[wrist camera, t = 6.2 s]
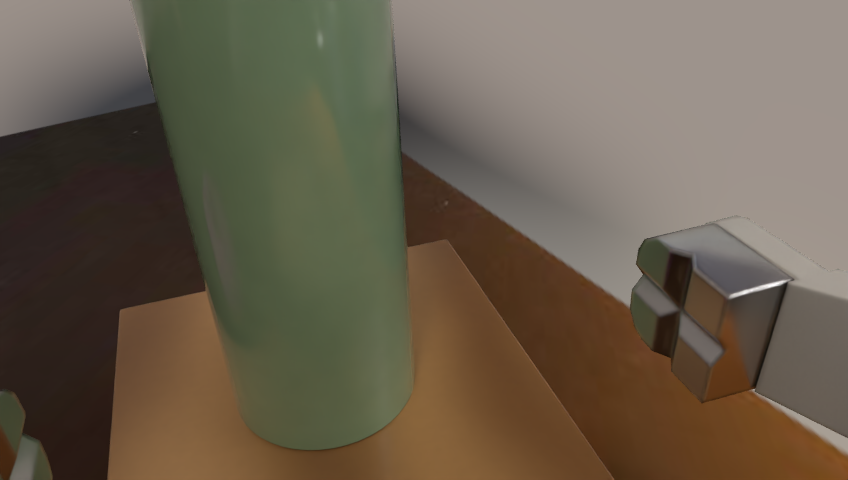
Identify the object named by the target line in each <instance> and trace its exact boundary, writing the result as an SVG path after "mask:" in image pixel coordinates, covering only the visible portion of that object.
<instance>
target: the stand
mask: <svg viewBox="0 0 848 480" xmlns="http://www.w3.org/2000/svg"><path fill="white" fill-rule="evenodd" d="M407 249H408V265H409V281H410V297H411V313H412V329H413V345H414V361H415V383H414V388H413V391H412V393H411V396H410V398H409V400H408V402H407V403H406V405H405V407H404V408H403V409H402V411H401V412H400V413H399V414H398V416H397V417H395V418H394V419H393V420H392V421H391V422H390V423H389V424H388V425H386V426H385V427H384V428H382V429H381V430H380V431H378V432H376V433H375V434H373V435H371V436H369V437H367V438H365V439H363V440H361V441H358V442H355V443H352V444H350V445H347V446H342V447H338V448H334V449H326V450H309V451H307V450H295V449H290V448H285V447H281V446H278V445H275V444H272V443H270V442H268V441H266V440H264V439H262V438H261V437H259V436H258V435H256V434H255V433H254V432H253V431H251V430H250V429H249V428H248V427H247V426H246V424H245V423H244V422H243V420H242V419H241V417H240V415H239V413H238V411H237V407H236V403H235V400H234V396H233V392H232V388H231V384H230V381H229V377H228V373H227V369H226V365H225V362H224V358H223V354H222V350H221V347H220V343H219V339H218V335H217V331H216V328H215V324H214V320H213V316H212V312H211V309H210V305H209V301H208V297H207V293H206V291H204V292H199V293H195V294H190V295H185V296H181V297H176V298H171V299H167V300H162V301H158V302H153V303H148V304H144V305H139V306H134V307H130V308H125V309H121V310H120V315H119V328H118V342H117V355H116V369H115V382H114V396H113V409H112V423H111V436H110V450H109V463H108V477H107V480H614V478H613V477H612V475H611V474H610V473H609V471H608V470H607V468H606V467H605V465H604V464H603V462H602V461H601V460H600V458H599V457H598V455H597V454H596V452H595V451H594V450H593V448H592V447H591V445H590V444H589V442H588V441H587V440H586V438H585V437H584V435H583V434H582V432H581V431H580V429H579V428H578V427H577V425H576V424H575V422H574V421H573V419H572V418H571V417H570V415H569V414H568V412H567V411H566V409H565V408H564V407H563V405H562V404H561V402H560V401H559V399H558V398H557V396H556V395H555V394H554V392H553V391H552V389H551V388H550V386H549V385H548V384H547V382H546V381H545V379H544V378H543V376H542V375H541V374H540V372H539V371H538V369H537V368H536V366H535V365H534V363H533V362H532V361H531V359H530V358H529V356H528V355H527V353H526V352H525V351H524V349H523V348H522V346H521V345H520V343H519V342H518V341H517V339H516V338H515V336H514V335H513V333H512V332H511V330H510V329H509V328H508V326H507V325H506V323H505V322H504V320H503V319H502V318H501V316H500V315H499V313H498V312H497V310H496V309H495V308H494V306H493V305H492V303H491V302H490V300H489V299H488V297H487V296H486V295H485V293H484V292H483V290H482V289H481V287H480V286H479V285H478V283H477V282H476V280H475V279H474V277H473V276H472V275H471V273H470V272H469V270H468V269H467V267H466V266H465V264H464V263H463V262H462V260H461V259H460V257H459V256H458V254H457V253H456V252H455V250H454V249H453V247H452V246H451V244H450V243H449V242H448V240H446V239H445V240H441V241H436V242H431V243H427V244H422V245H417V246H413V247H408V248H407Z"/></svg>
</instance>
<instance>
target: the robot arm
mask: <svg viewBox="0 0 848 480" xmlns="http://www.w3.org/2000/svg"><path fill="white" fill-rule="evenodd" d="M636 265H637V266H638V268H639V269H640V270H641V272H642V273H643V275H642V277H641V278H640V279H639V281H638V282H637V284H636V285H635V286H634V288H633V289H632V294H631V304H630V311H631V315H632V319H633V323H634V327H635V328H636V330H637V332H638V334H639V336H640V337H641V339H642V340H643V341H644V342H645V344H646V345H647V346H648V347H649V348H650V349H651V350H652V351H654V352H657V353H659V354H662V355H664V356H667V357H669V358H671V371H672V372H673V374H674V375H675V376H676V377H677V378H678V379H679V380H680V381H681V382H682V383H683V384H684V385H685V386H686V387H687V388H688V389H689V390H690V391H691V392H692V393H693V394H694V396H695V397H696V398H697V399H698V400H699V401H700V402H701V403H705V402H709V401H712V400H716V399H719V398H723V397H726V396H730V395H733V394H737V393H741V392H744V391H748V390H751V389H755V388H756V389H755V392H757V393H759V394H761V395H763V396H765V397H767V398H769V399H771V400H773V401H775V402H777V403H779V404H781V405H783V406H785V407H787V408H789V409H791V410H793V411H795V412H797V413H799V414H801V415H803V416H805V417H807V418H809V419H811V420H813V421H815V422H817V423H819V424H821V425H823V426H825V427H827V428H829V429H831V430H833V431H835V432H837V433H839V434H841V435H843V436H845V437H847V438H848V272H847V271H844V270H840V269H836V270H832V271H828V270H826V269H825V268H823V267H821V266H820V265H818V264H817V263H815V262H814V261H812V260H811V259H809V258H808V257H806V256H805V255H803V254H801V253H800V252H799V251H797V250H796V249H794V248H793V247H791V246H790V245H788V244H787V243H785V242H784V241H782V240H780V239H779V238H777V237H776V236H774V235H773V234H771V233H770V232H768V231H767V230H765V229H764V228H762V227H761V226H759V225H758V224H756V223H755V222H753V221H751V220H750V219H748V218H745V217H741V216H732V217H728V218H724V219H720V220H717V221H713V222H709V223H706V224H705V225H702V226H697V227H693V228H689V229H685V230H681V231H677V232H672V233H669V234H664V235H660V236H656V237H652V238H647V239H645V240H644V241H643V243H642V245H641V247H640V248H639V250H638V256H637V261H636ZM25 416H26V413H25V411H24V409H23V407H22V406H21V404H20V402H19V400H18V398H17V397H16V395H15V393H14V392H11V391H9V390H6V389H3V390H0V480H53V479H52V472H51V469H50V465H49V462H48V458H47V455H46V453H45V451H44V449H43V447H42V445H41V443H40V441H39V440H37V439H34V438H32V437H30V436H28V435H26V434H24V433H22V431H23V426H24V421H25Z"/></svg>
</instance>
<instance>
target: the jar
mask: <svg viewBox="0 0 848 480" xmlns="http://www.w3.org/2000/svg"><path fill="white" fill-rule="evenodd" d="M129 1H130V5H131V9H132V13H133V17H134V20H135V24H136V28H137V32H138V36H139V39H140V43H141V47H142V51H143V55H144V58H145V62H146V66H147V70H148V73H149V77H150V81H151V85H152V89H153V92H154V96H155V100H156V104H157V108H158V111H159V115H160V119H161V123H162V127H163V130H164V134H165V138H166V142H167V146H168V149H169V153H170V157H171V161H172V165H173V168H174V172H175V176H176V180H177V183H178V187H179V191H180V195H181V199H182V202H183V206H184V210H185V214H186V218H187V221H188V225H189V229H190V233H191V237H192V240H193V244H194V248H195V252H196V256H197V259H198V263H199V267H200V271H201V274H202V278H203V282H204V286H205V290H206V293H207V297H208V301H209V305H210V309H211V312H212V316H213V320H214V324H215V328H216V331H217V335H218V339H219V343H220V347H221V350H222V354H223V358H224V362H225V365H226V369H227V373H228V377H229V381H230V384H231V388H232V392H233V396H234V400H235V403H236V407H237V411H238V413H239V415H240V417H241V419H242V420H243V422H244V423H245V424H246V426H247V427H248V428H249V429H250V430H251V431H253V432H254V433H255V434H256V435H258V436H259V437H261V438H262V439H264V440H266V441H268V442H270V443H272V444H275V445H278V446H281V447H285V448H290V449H295V450H307V451H309V450H326V449H334V448H338V447H342V446H347V445H350V444H352V443H355V442H358V441H361V440H363V439H365V438H367V437H369V436H371V435H373V434H375V433H376V432H378V431H380V430H381V429H382V428H384V427H385V426H386V425H388V424H389V423H390V422H391V421H392V420H393V419H394V418H395V417H397V416H398V414H399V413H400V412H401V411H402V409H403V408H404V407H405V405H406V403H407V402H408V400H409V398H410V396H411V393H412V391H413V388H414V383H415V361H414V345H413V329H412V313H411V297H410V281H409V265H408V249H407V233H406V217H405V200H404V184H403V168H402V152H401V136H400V120H399V106H398V105H399V104H398V88H397V73H396V57H395V40H394V24H393V8H392V0H129Z"/></svg>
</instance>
